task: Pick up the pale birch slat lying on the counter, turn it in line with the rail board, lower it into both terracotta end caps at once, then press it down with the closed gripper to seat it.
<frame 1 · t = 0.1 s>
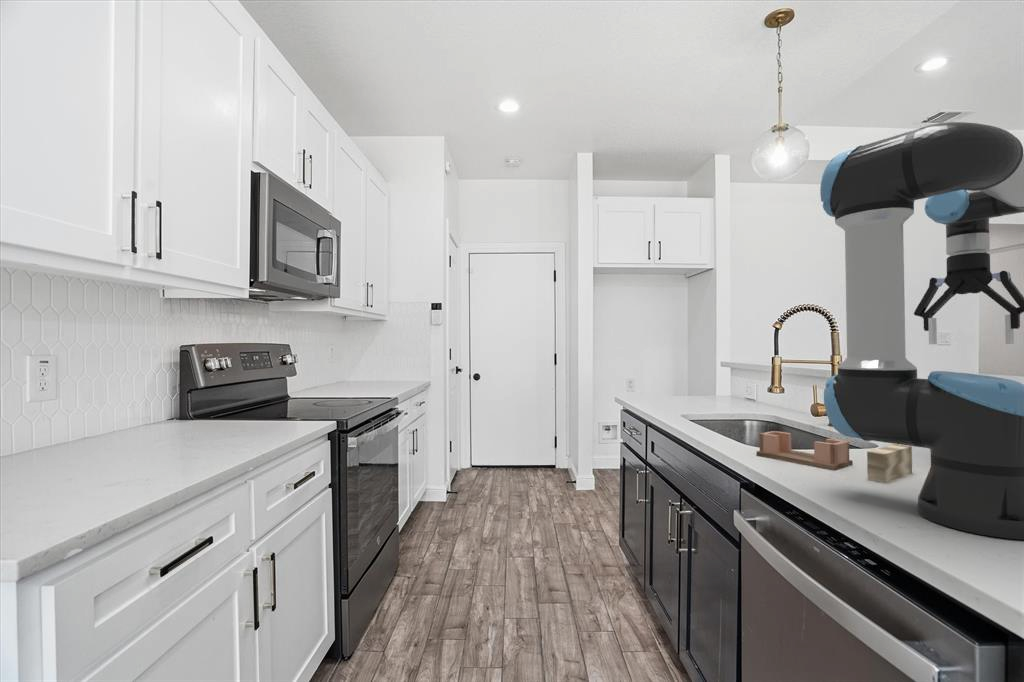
hand: (969, 344, 115), 28 cm above the counter, fingers open, 13 cm apart
end caps: (802, 446, 119), on the rail board, point 3 cm above the counter
rail board: (802, 459, 119), on the counter
birch slat: (890, 477, 103), on the counter
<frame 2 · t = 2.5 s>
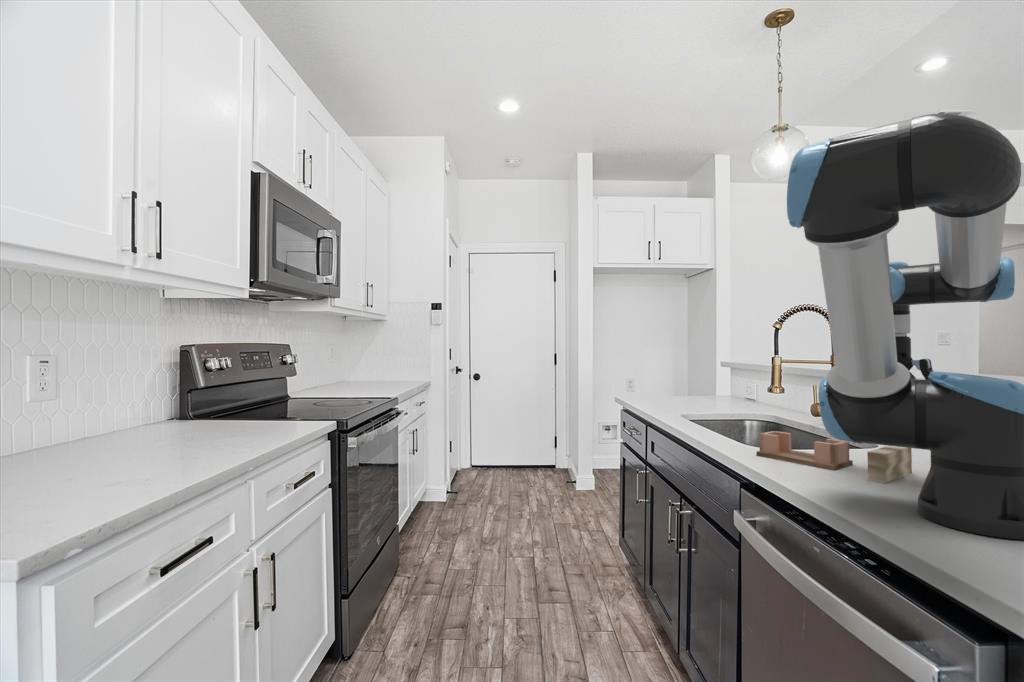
hand: (889, 435, 104), 9 cm above the counter, fingers open, 13 cm apart
nothing on the counter moved.
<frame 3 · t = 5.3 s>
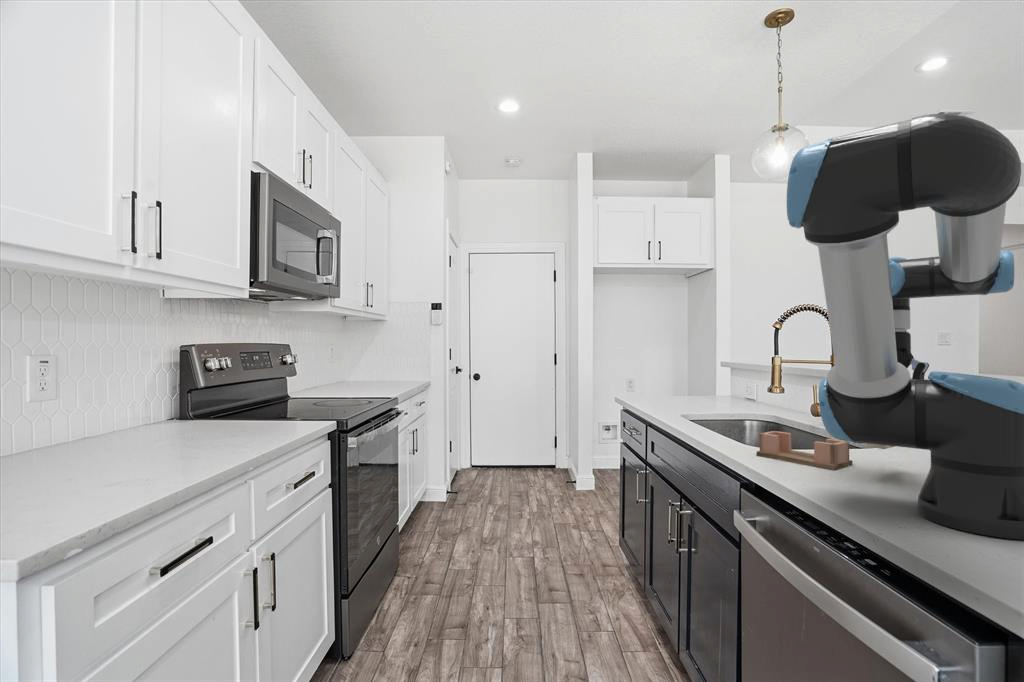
hand: (889, 441, 103), 7 cm above the counter, fingers closed on birch slat, 3 cm apart
birch slat: (890, 444, 103), point 7 cm above the counter, touching gripper
everything else where it was.
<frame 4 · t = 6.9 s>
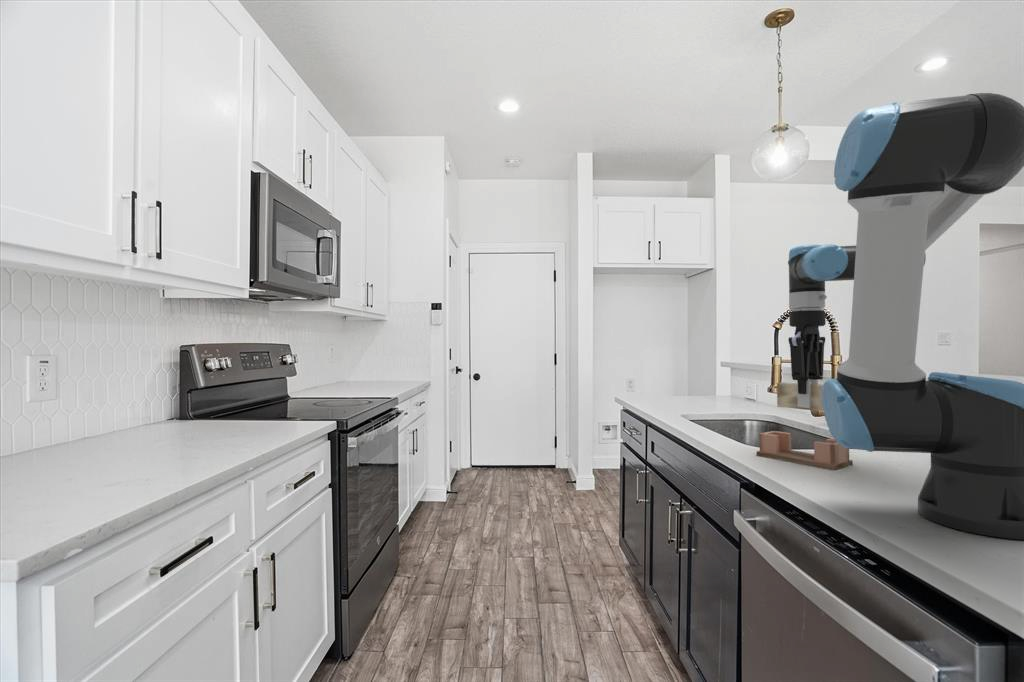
hand: (808, 406, 118), 13 cm above the counter, fingers closed on birch slat, 3 cm apart
birch slat: (809, 409, 118), point 13 cm above the counter, touching gripper
everything else where it was.
when the fingers open (3 cm above the counter, at t = 9.1 s): birch slat stays where it is, resting on rail board.
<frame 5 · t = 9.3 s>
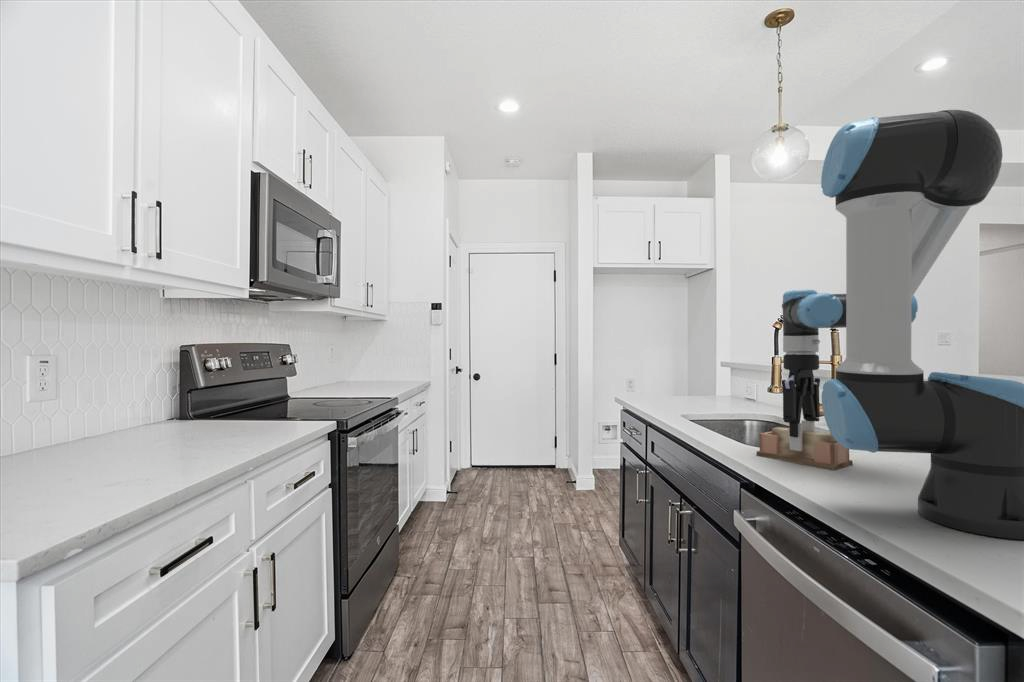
hand: (802, 448, 119), 3 cm above the counter, fingers open, 5 cm apart
birch slat: (804, 456, 118), point 1 cm above the counter, touching rail board
everything else where it was.
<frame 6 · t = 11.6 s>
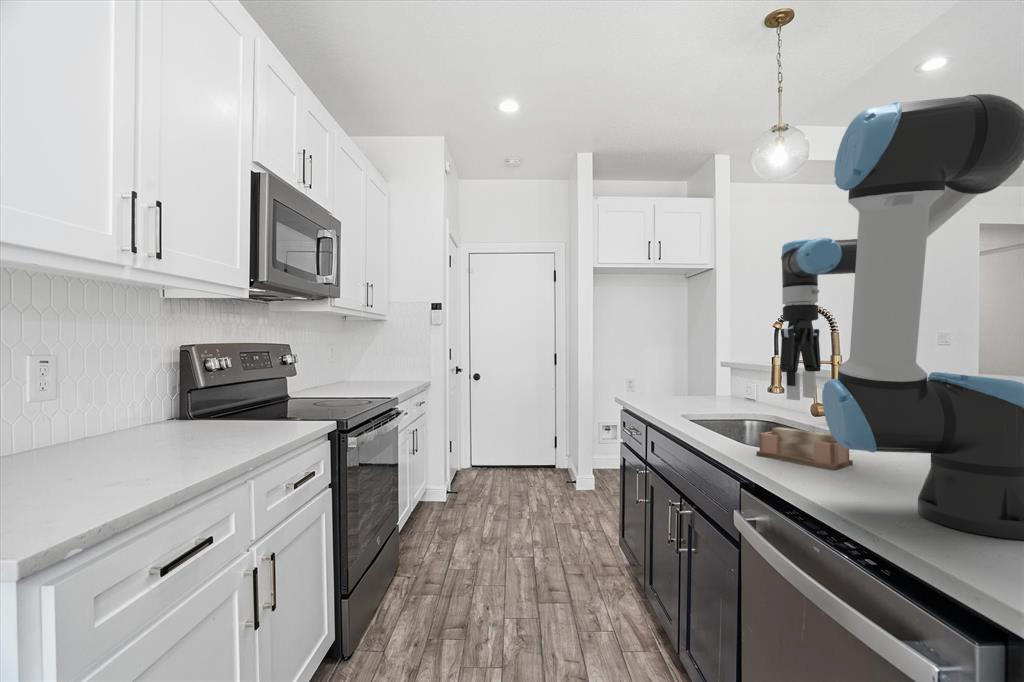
hand: (801, 398, 119), 15 cm above the counter, fingers open, 7 cm apart
nothing on the counter moved.
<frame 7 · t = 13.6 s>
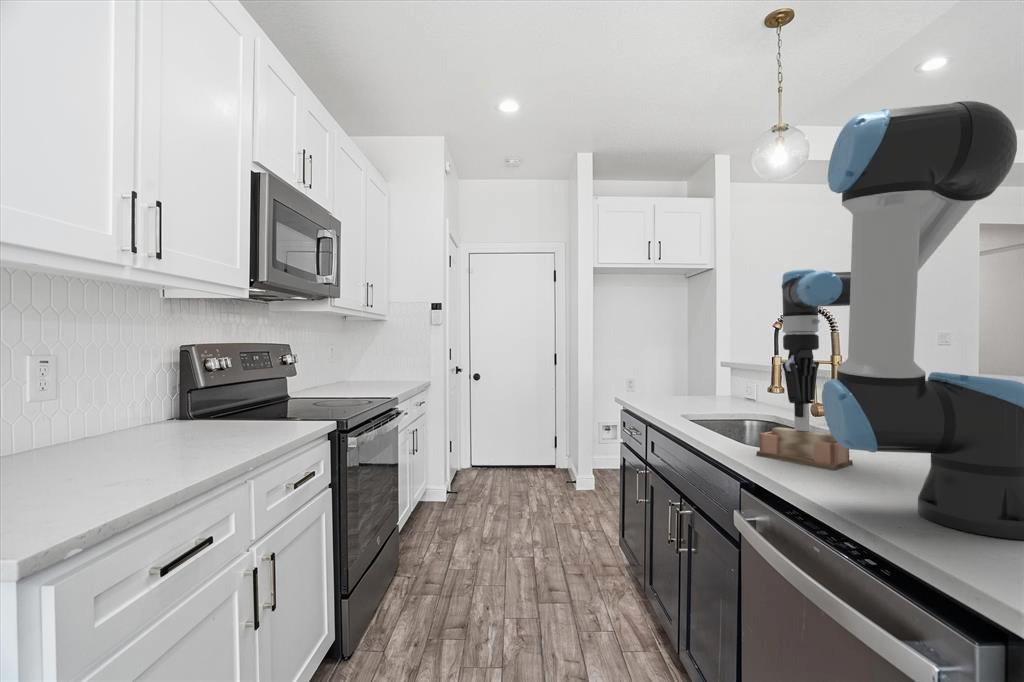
hand: (801, 430, 119), 7 cm above the counter, fingers closed
birch slat: (804, 456, 118), point 1 cm above the counter, touching gripper, rail board
everything else where it was.
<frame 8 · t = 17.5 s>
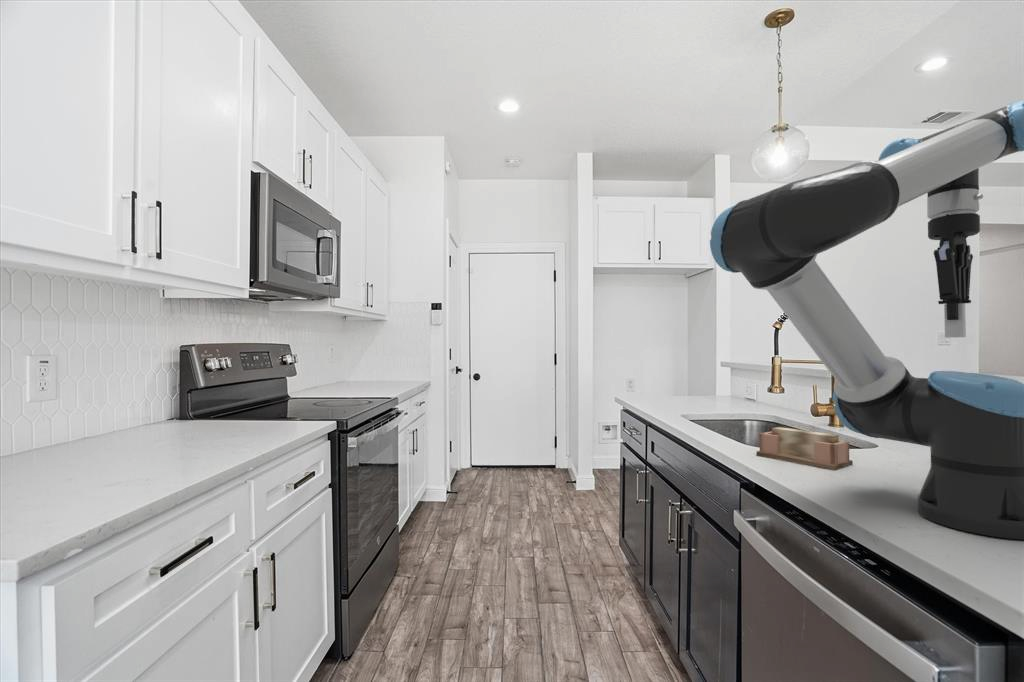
hand: (955, 337, 95), 29 cm above the counter, fingers closed
birch slat: (804, 456, 118), point 1 cm above the counter, touching rail board
everything else where it was.
at the end: birch slat 0.4 cm off-centre on the rail board, point 1.0 cm above the rail board's base; birch slat tilted 0°; the gripper is holding nothing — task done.
